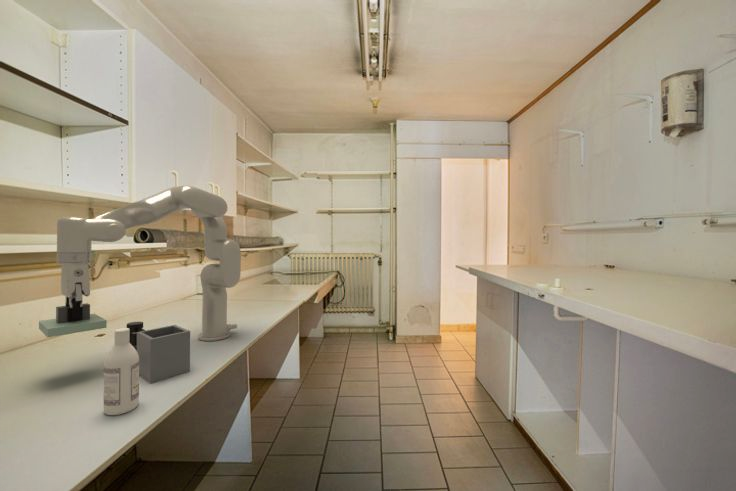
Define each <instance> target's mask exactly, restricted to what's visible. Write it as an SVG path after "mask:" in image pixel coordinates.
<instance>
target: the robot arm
mask: <svg viewBox="0 0 736 491" xmlns="http://www.w3.org/2000/svg"><path fill="white" fill-rule="evenodd" d="M228 207H229V206H228V204H227V202H226V199H223V197H221V196H219V195H218V194H217V195H216V194H215V193H212V192H208V191H206V190H203V189H201V188H198V187H195V186H193V185H192V186H191V185H182V186H181V185H180V186H178V185H177V186H173V187H170V188H167V189H164V190H162V191H160V192H158V193H155V194H153V195H151V196H148V197H144V198H142V199H140V200H138V201H134V202H132V203H129V204H127V205H124V206H122V207H121V206H120V207H119V208H115V209H113V210H110V211H107V212H106V213H102V214H100V215H98V216H96V217H94V218H93V217H92V218H85V217H79V216H78V217H77V216H62V217H59V218H58V219H57V223H56V264H57V265H61V271H60V272H61V273H60V274H61V275H60V289H61V291H60V292H61V294H62V295H63V296H64V297H65V300H64V302H65V303H64V304H65V305H64V306H68V305H69V308H68V322H72V321H79V320H82V319H83V307H82V305H83V304H84V303H83V296H84V297H90V295H91V285H90V284H91V282H90V268H89V267H90V266H89V264H92V242H102V243H115V242H118V241H120V240H122V239H123V238H124V237H125V236H126V233H127V230H128V229H131V228H134V227H139V226H144V225H149V224H153V223H157V222H158V221H160V220H162V219H165V218H166V217H168V216H170V215H172V214H175V213H176V212H180V211H182V210H186V209H190V210H191V213H192V214H193V215H194V216H196V217H197V218H198V219H199V220H200V221H201V223H202V224H203V227H204V228H203V229H204V255H205V257H206V258H207V259H208V260H210V261H215V262H219V263H209V264H206V265H205V266H203V268H202V269H201V272H200V277H199V278H200V284H201V289H202V309H201V310H202V316H201V318H202V319H201V320H202V321H201V322H202V323H201V326H202V328H201V332H200V333H199V334H198V335H197V339H198V340H199V341H203V342H215V341H220V340H224V339H227V338H229V337H230V336H231V330H235V329H237V328H238V324H237V323H235V324H230V323H229V324H228V321H227V320H228V292H227V289H230V288H233V287H235V286H236V285H237V284H238V283H239V281H240V278H241V272H242V270H241V269H242V268H241V267H242V264H241V263H242V254H241V253H242V251H241V247H240V245H239V243H238V242H237V241H236V240H234V239H231V238H228V233H227V224H226V221H225V219H224V218H223V216H224V215H226V213H227V211H228Z"/></svg>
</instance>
